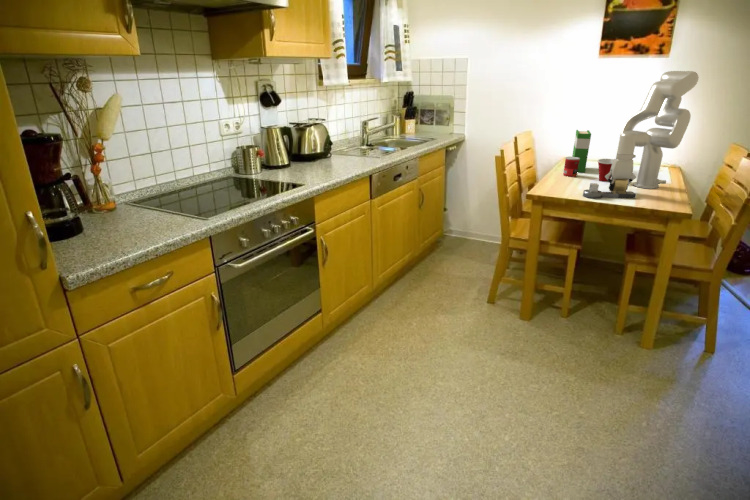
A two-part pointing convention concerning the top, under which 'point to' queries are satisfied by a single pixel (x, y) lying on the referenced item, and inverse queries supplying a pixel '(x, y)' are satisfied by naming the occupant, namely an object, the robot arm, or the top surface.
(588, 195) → the ratchet
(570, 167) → the canned food
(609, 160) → the plastic cup
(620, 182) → the tan wooden block
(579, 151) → the hardback book
